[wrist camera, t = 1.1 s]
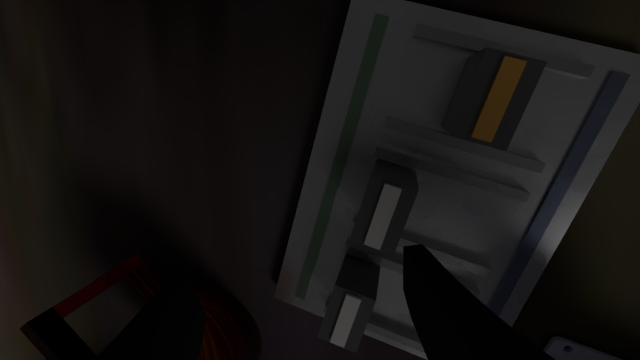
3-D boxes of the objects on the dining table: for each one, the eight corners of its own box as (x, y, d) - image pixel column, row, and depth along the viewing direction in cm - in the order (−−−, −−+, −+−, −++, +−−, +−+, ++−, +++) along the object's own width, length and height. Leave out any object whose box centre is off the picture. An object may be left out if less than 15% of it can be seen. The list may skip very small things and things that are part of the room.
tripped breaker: (516, 68, 17) (549, 61, 13) (485, 139, 19) (507, 152, 15) (469, 56, 18) (488, 46, 14) (441, 127, 19) (452, 135, 15)
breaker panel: (646, 61, 17) (676, 58, 15) (477, 367, 24) (483, 391, 22) (356, -6, 19) (352, -16, 18) (279, 288, 26) (269, 303, 24)
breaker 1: (380, 265, 22) (375, 302, 18) (363, 311, 23) (355, 355, 19) (346, 253, 22) (334, 286, 19) (331, 298, 24) (316, 339, 20)
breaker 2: (416, 171, 20) (419, 190, 16) (394, 227, 21) (393, 258, 17) (377, 159, 20) (370, 175, 16) (358, 215, 22) (348, 242, 18)
